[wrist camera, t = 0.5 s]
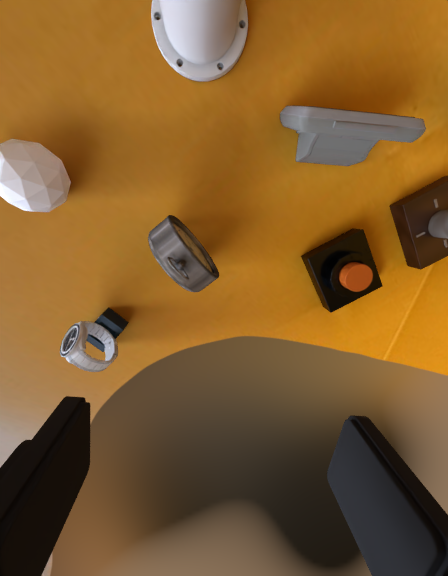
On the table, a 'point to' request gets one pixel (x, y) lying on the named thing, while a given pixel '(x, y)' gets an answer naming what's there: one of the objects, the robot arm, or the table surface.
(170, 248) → the alarm clock
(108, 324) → the watch
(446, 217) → the dial
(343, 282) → the button
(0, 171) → the white faceted rounded piece
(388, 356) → the table surface
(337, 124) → the digital clock
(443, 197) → the dial panel
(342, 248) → the button box
